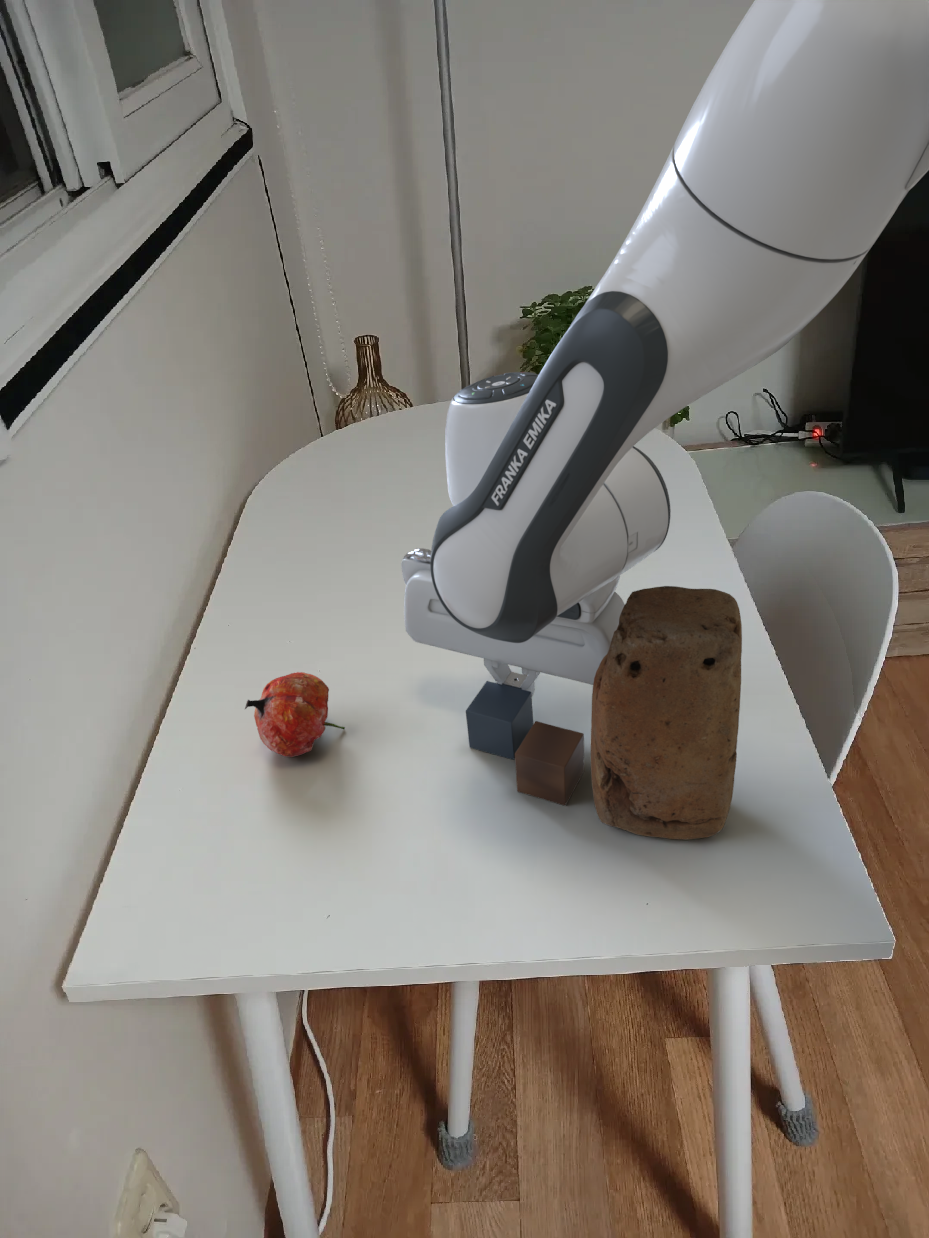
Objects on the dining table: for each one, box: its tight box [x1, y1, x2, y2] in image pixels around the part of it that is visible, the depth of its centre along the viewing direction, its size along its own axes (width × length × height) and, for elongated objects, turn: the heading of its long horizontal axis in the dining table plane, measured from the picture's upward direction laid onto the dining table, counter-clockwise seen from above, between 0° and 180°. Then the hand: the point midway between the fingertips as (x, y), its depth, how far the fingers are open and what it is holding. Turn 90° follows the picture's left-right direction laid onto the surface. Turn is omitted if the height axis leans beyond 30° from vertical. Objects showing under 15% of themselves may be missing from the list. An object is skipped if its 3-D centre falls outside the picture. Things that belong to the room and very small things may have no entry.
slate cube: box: [465, 680, 534, 761], centre depth 85 cm, size 4×4×4 cm
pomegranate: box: [244, 671, 346, 758], centre depth 86 cm, size 7×7×10 cm
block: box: [590, 585, 743, 840], centre depth 72 cm, size 11×8×20 cm
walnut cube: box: [514, 720, 585, 807], centre depth 80 cm, size 4×4×4 cm
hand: (516, 694), depth 86 cm, fingers closed
